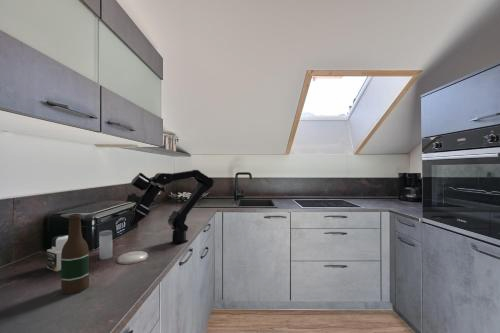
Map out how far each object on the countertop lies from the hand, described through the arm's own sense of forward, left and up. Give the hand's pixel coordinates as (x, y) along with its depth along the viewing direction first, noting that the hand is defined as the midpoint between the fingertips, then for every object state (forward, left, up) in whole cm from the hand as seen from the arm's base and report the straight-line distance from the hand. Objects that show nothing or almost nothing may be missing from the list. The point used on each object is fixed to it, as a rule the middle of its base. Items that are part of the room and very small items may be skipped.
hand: (129, 225), depth 113 cm
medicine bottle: (+22, -10, -12) cm, 28 cm away
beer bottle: (+30, +14, -12) cm, 36 cm away
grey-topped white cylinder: (+8, -4, -12) cm, 15 cm away
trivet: (+4, +8, -12) cm, 15 cm away
